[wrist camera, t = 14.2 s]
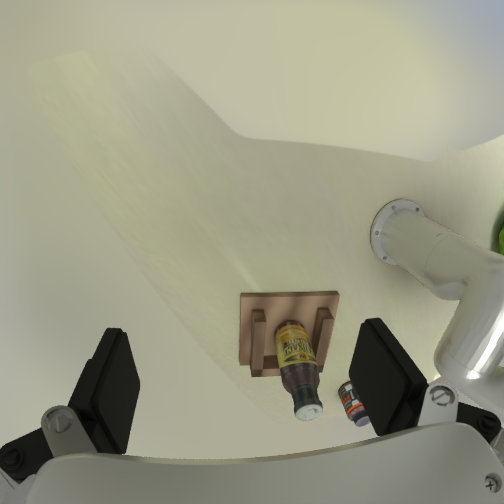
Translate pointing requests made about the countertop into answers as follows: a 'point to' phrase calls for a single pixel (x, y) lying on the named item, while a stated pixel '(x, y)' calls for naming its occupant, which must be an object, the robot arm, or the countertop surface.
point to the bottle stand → (276, 313)
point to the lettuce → (501, 241)
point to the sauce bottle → (298, 369)
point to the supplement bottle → (353, 405)
